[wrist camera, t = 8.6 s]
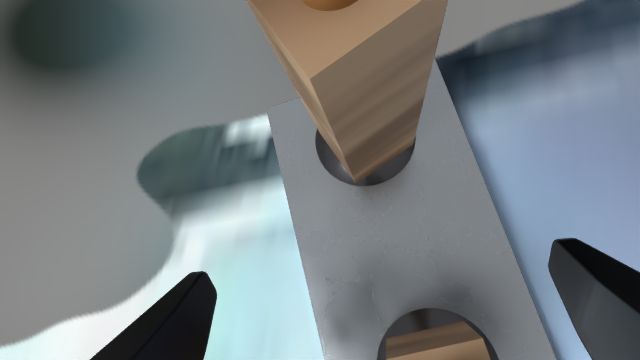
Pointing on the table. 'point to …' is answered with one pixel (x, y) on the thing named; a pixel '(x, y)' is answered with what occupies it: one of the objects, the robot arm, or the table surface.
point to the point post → (357, 69)
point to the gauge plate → (403, 240)
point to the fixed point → (438, 344)
